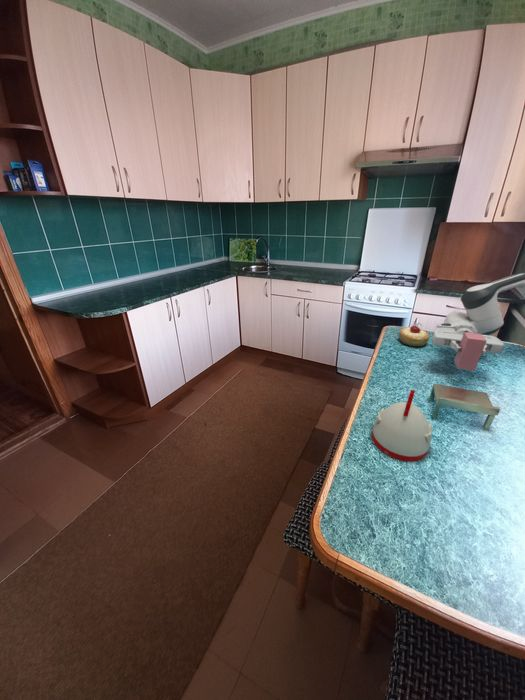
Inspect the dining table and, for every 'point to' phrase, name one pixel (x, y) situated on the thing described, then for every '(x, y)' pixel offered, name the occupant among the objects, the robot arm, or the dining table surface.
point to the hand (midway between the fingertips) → (470, 351)
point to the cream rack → (463, 401)
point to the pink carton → (470, 351)
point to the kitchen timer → (402, 431)
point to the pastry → (413, 336)
